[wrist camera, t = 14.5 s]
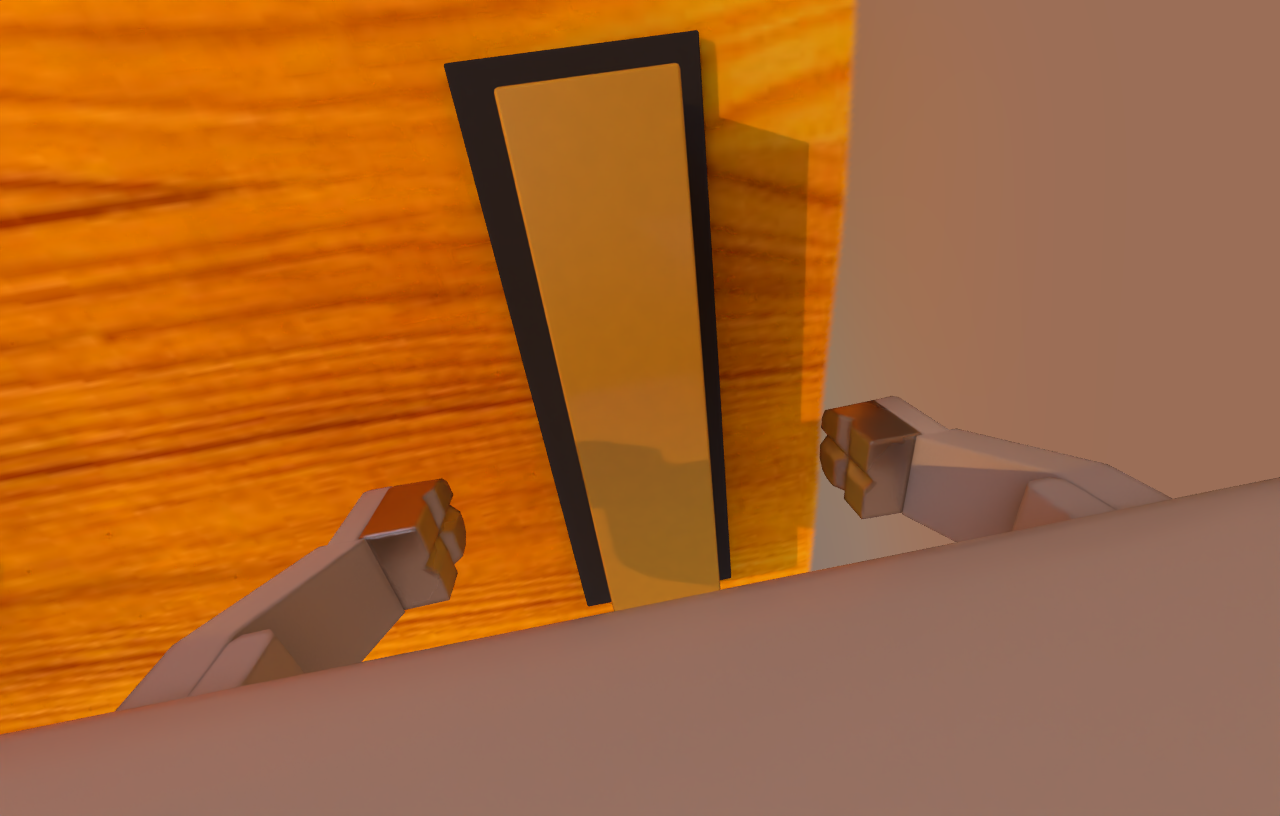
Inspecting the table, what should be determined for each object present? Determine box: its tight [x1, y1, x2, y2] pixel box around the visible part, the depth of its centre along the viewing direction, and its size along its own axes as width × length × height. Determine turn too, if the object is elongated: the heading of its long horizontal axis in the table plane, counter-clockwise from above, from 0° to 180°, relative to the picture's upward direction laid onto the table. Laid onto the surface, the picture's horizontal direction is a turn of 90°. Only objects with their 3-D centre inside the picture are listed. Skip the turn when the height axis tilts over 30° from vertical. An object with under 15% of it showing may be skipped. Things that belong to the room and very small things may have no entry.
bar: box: [494, 63, 720, 611], centre depth 13 cm, size 4×16×3 cm, turn 8°
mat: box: [444, 30, 731, 606], centre depth 15 cm, size 18×6×1 cm, turn 8°
